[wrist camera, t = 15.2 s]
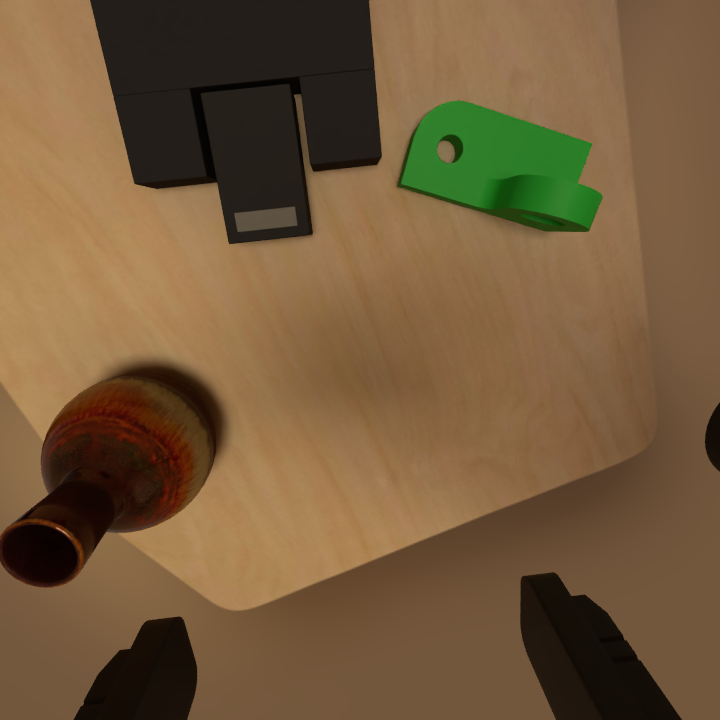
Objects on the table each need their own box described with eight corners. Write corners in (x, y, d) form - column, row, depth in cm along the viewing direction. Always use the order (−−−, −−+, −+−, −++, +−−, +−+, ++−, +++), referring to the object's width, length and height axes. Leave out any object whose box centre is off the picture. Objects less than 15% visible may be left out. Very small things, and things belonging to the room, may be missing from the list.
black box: (295, 99, 30) (289, 82, 27) (313, 234, 33) (310, 235, 29) (215, 107, 30) (199, 92, 26) (239, 242, 32) (228, 244, 29)
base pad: (356, -77, 27) (358, -119, 24) (377, 164, 31) (381, 157, 28) (101, -51, 27) (67, -90, 24) (156, 188, 31) (134, 184, 28)
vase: (67, 434, 36) (-119, 575, 22) (135, 332, 34) (-20, 412, 19) (182, 502, 39) (86, 671, 24) (253, 411, 36) (195, 535, 22)
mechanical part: (577, 148, 32) (653, 123, 24) (546, 231, 33) (608, 232, 26) (421, 97, 30) (450, 53, 23) (397, 186, 32) (415, 173, 24)
